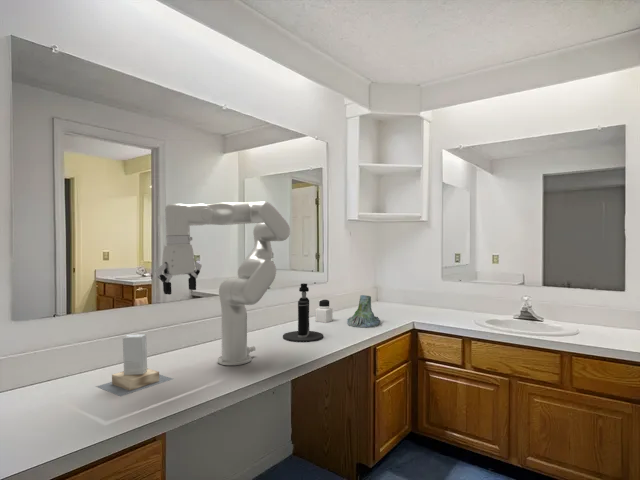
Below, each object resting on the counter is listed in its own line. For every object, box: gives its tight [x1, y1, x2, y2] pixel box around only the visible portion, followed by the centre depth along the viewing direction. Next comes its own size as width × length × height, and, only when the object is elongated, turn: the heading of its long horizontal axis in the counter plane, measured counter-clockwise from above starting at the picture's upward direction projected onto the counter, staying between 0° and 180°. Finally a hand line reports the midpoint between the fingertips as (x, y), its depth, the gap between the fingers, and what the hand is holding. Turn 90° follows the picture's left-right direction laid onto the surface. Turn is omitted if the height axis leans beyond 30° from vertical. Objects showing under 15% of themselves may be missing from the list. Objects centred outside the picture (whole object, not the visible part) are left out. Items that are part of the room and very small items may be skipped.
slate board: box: [95, 373, 174, 397], centre depth 132 cm, size 18×14×1 cm
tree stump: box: [346, 294, 381, 329], centre depth 227 cm, size 18×20×18 cm
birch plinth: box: [111, 367, 160, 390], centre depth 132 cm, size 10×10×3 cm
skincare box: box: [122, 333, 148, 375], centre depth 131 cm, size 6×4×12 cm
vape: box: [282, 283, 324, 343], centre depth 195 cm, size 19×19×25 cm
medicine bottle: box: [315, 299, 333, 324], centre depth 233 cm, size 7×7×12 cm
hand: (180, 291), depth 138 cm, fingers open, 9 cm apart
